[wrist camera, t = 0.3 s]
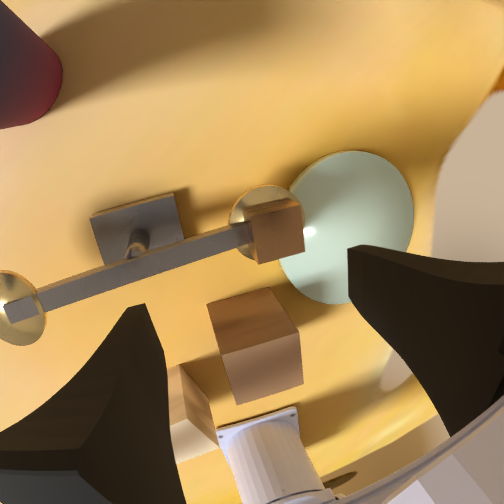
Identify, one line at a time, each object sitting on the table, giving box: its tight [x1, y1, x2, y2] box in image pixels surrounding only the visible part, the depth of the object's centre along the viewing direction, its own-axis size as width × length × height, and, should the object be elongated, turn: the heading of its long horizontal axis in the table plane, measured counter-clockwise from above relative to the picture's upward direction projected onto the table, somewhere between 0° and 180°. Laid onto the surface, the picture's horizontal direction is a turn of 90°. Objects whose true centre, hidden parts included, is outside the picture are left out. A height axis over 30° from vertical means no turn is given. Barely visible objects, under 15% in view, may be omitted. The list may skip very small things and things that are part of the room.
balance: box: [0, 185, 305, 346], centre depth 16 cm, size 4×18×6 cm, turn 99°
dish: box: [278, 150, 414, 304], centre depth 22 cm, size 11×11×1 cm
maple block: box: [167, 364, 220, 464], centre depth 21 cm, size 4×4×6 cm
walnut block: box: [207, 287, 304, 405], centre depth 20 cm, size 4×4×6 cm
